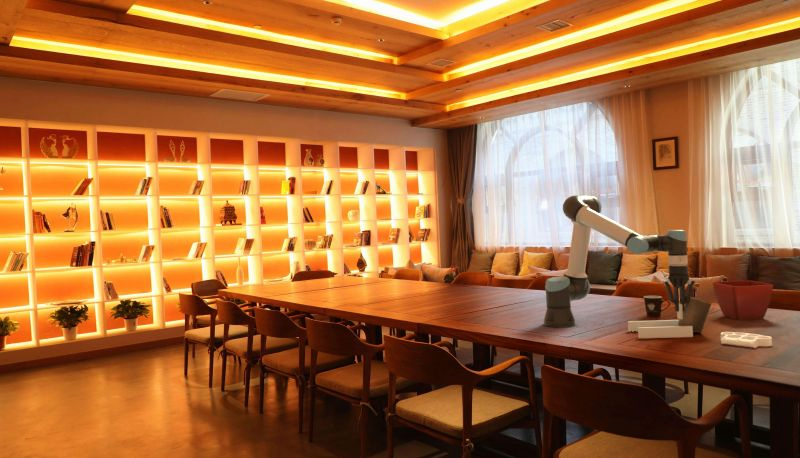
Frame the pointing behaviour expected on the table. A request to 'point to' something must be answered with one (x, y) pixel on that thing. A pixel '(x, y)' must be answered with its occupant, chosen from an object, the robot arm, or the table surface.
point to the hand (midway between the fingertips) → (680, 318)
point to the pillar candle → (695, 314)
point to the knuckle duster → (745, 339)
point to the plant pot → (743, 298)
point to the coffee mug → (654, 305)
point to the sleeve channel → (660, 329)
